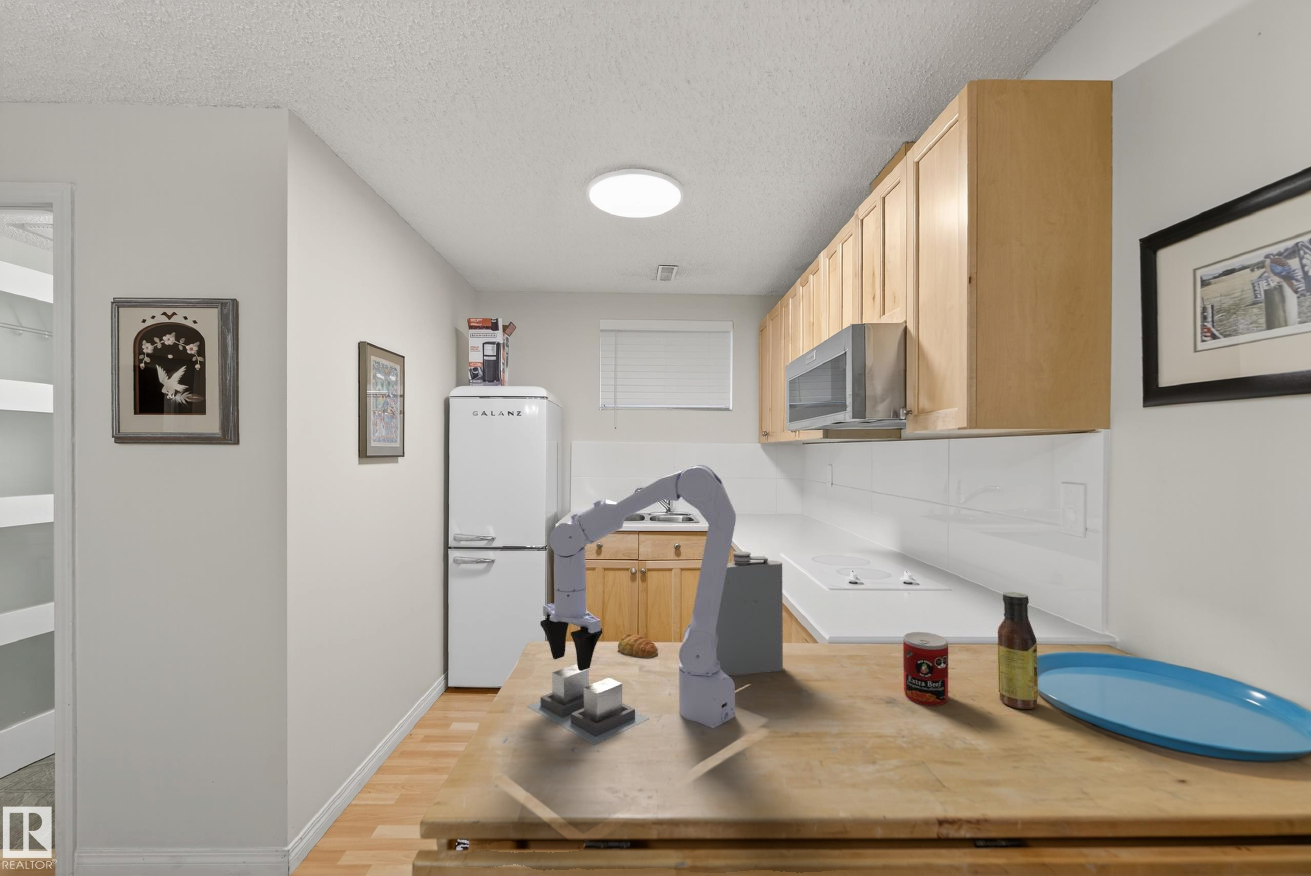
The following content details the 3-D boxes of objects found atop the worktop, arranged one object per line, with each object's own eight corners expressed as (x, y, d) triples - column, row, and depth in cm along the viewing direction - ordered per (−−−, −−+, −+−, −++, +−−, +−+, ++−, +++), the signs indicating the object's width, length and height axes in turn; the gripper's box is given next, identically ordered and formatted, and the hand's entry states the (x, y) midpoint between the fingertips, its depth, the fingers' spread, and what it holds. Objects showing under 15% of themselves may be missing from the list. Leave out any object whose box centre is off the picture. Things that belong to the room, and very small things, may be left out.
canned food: (901, 701, 109) (901, 641, 109) (905, 684, 116) (905, 629, 116) (947, 709, 106) (947, 648, 106) (949, 692, 113) (948, 635, 113)
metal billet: (588, 701, 107) (588, 668, 107) (564, 712, 103) (563, 677, 103) (577, 695, 109) (576, 663, 109) (552, 705, 106) (552, 672, 106)
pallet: (649, 725, 101) (649, 708, 101) (594, 752, 92) (594, 734, 92) (580, 691, 114) (580, 677, 114) (527, 712, 106) (527, 696, 106)
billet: (622, 718, 101) (622, 683, 101) (597, 729, 97) (597, 693, 97) (608, 711, 103) (608, 677, 103) (584, 722, 99) (583, 687, 99)
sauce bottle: (1044, 712, 104) (1043, 600, 104) (1005, 709, 106) (1005, 598, 105) (1028, 696, 111) (1028, 590, 111) (992, 693, 112) (992, 589, 112)
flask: (775, 662, 128) (774, 547, 128) (785, 670, 124) (784, 551, 124) (700, 671, 123) (699, 552, 123) (708, 680, 119) (707, 556, 119)
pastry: (664, 654, 134) (664, 637, 134) (645, 663, 129) (645, 646, 129) (633, 645, 140) (633, 629, 140) (614, 653, 135) (613, 637, 134)
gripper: (528, 585, 109) (529, 658, 109) (577, 599, 98) (578, 681, 98) (560, 578, 114) (561, 648, 114) (609, 591, 103) (610, 669, 103)
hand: (571, 663), depth 106 cm, fingers open, 7 cm apart
